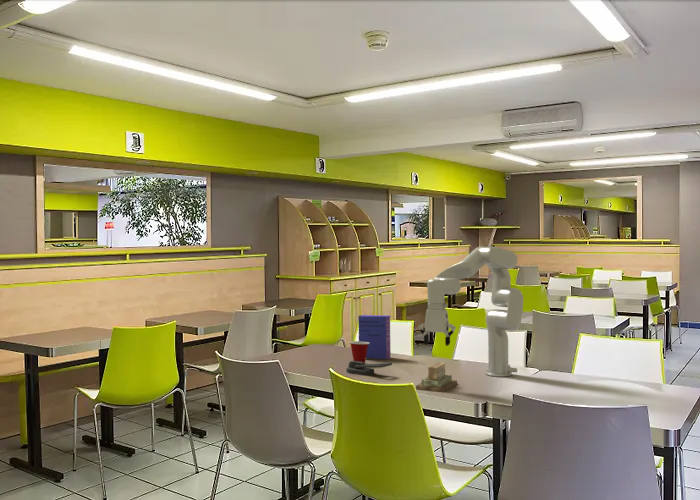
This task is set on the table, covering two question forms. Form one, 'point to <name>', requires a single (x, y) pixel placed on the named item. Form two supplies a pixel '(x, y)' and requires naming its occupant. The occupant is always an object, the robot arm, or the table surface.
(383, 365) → the dark grey long piece
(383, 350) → the cereal box
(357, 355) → the plastic cup
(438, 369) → the tan rectangular block
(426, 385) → the notch board
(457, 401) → the table surface
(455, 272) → the robot arm
